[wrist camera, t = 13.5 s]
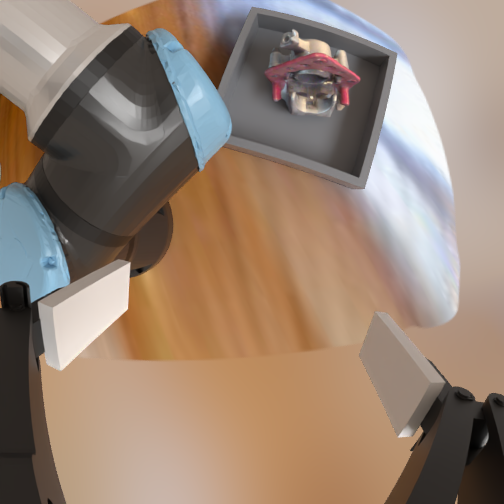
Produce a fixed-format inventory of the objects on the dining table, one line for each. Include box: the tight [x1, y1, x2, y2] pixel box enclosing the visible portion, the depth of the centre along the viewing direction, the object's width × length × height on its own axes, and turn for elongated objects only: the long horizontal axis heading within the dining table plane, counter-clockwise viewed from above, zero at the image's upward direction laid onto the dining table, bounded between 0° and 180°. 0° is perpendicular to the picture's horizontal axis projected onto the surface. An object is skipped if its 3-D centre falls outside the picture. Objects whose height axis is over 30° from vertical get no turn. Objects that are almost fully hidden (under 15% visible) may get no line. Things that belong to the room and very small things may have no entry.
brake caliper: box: [264, 29, 360, 117], centre depth 30 cm, size 11×11×12 cm
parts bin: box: [217, 7, 397, 189], centre depth 33 cm, size 20×20×5 cm
